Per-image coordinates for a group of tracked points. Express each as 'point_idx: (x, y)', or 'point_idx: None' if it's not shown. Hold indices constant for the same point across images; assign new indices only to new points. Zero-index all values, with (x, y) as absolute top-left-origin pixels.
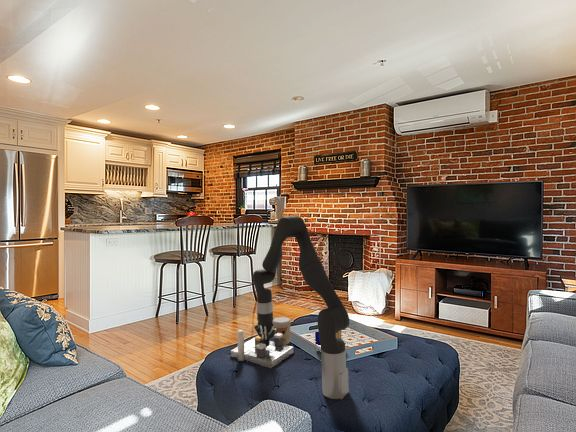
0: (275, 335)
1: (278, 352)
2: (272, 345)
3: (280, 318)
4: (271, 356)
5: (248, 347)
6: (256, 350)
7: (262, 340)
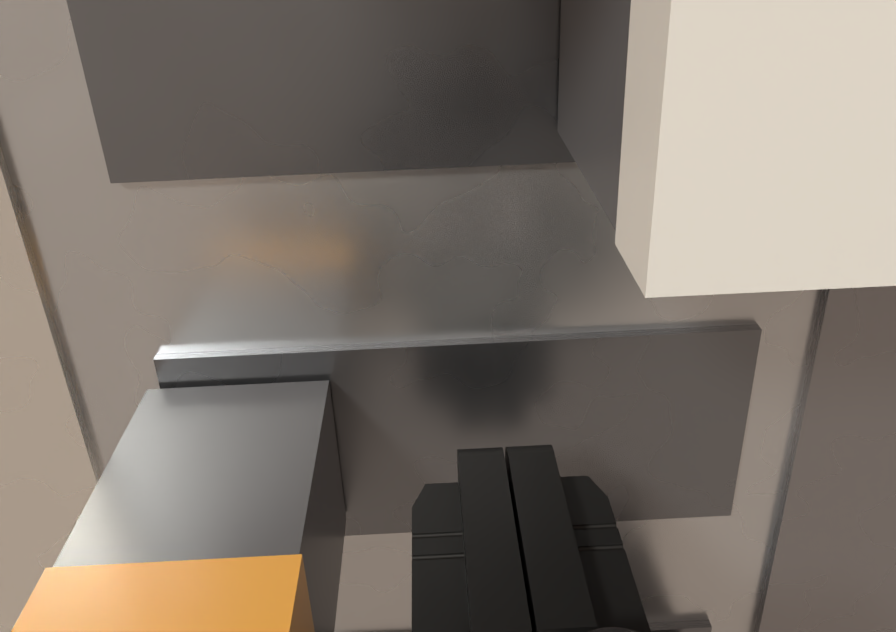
0: (728, 285)
1: (891, 421)
2: (487, 166)
3: None
4: (821, 623)
5: (21, 574)
6: None
7: (312, 570)
